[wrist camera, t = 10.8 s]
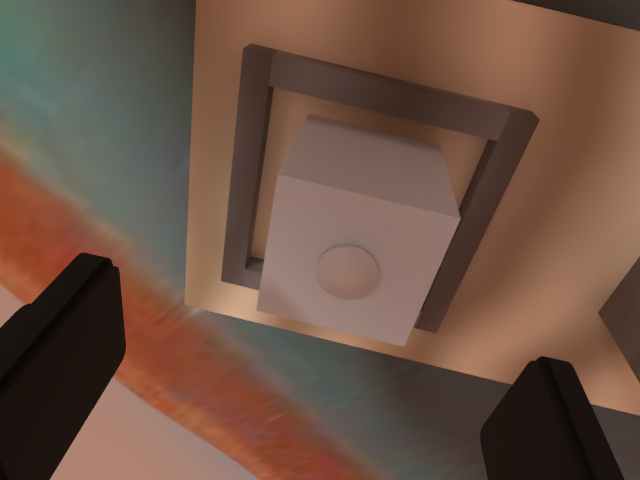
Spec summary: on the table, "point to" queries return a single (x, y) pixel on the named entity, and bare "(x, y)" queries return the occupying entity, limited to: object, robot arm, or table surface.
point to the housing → (357, 230)
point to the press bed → (461, 161)
